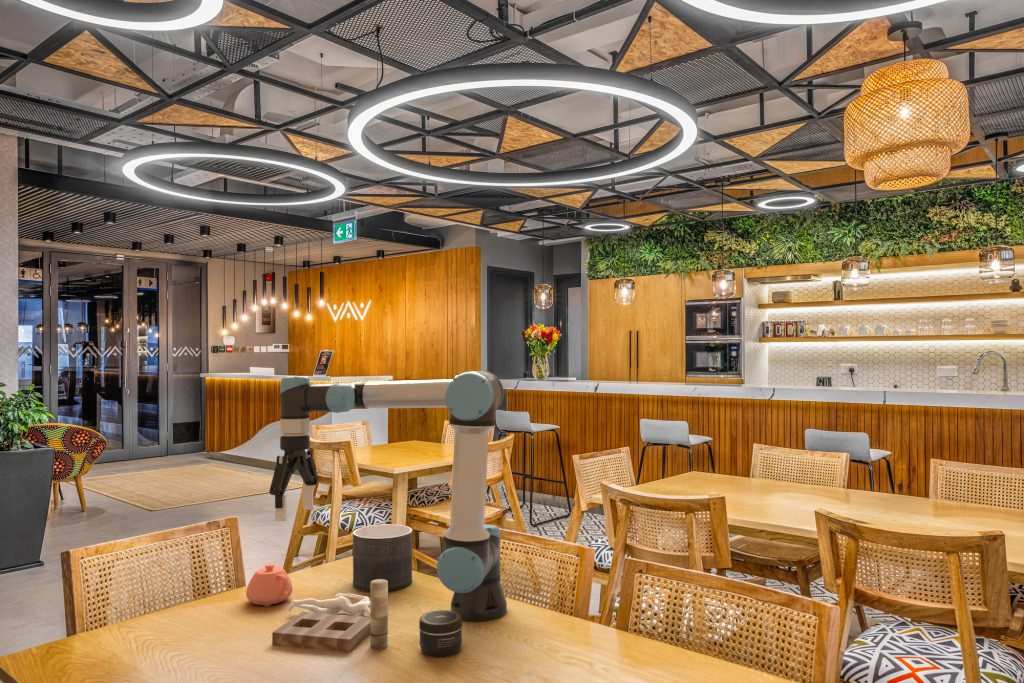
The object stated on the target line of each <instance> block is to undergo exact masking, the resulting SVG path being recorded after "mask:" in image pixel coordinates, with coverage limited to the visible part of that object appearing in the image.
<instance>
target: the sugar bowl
mask: <svg viewBox="0 0 1024 683" xmlns="http://www.w3.org/2000/svg"><path fill="white" fill-rule="evenodd" d="M264 566H265V567H261V568H259V569H257V570H255V572H254V574H253V575H252V577H251V578H250V581H249V582H248V585H247V588H246V592H245V593H246V594H245V596H246V598H247V600H248V601H249V602H250V603H252V604H253V605H254V604H255V605H260V606H263V607H271V606H272V605H274V604H279V603H282V602H285V601H286V600H288V598H289V597H290V596H291V595H292V593H293V584H292V580H291V579H290V577H289V575H288V573H287V572H286V570H285V569H284V568H283V567H281V566H275V564H273V563H267V564H266V565H264Z"/></svg>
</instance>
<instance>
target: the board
mask: <svg viewBox="0 0 1024 683" xmlns="http://www.w3.org/2000/svg"><path fill="white" fill-rule="evenodd" d="M369 636H370V616H369V617H368V616H361V617H360V616H355V615H349V614H348V615H347V614H337V613H334V614H325V613H314V612H312V611H301V612H300V613H298V614H297V615H296V616H294V617H292V618H291V619H290V620H288V621H286V623H284V624H282V625H281V626H280V627H278V628H277V629H275V630H273V631H272V632H271V638H272V640H271V646H278V647H289V648H298V649H307V650H308V649H309V650H317V651H318V650H319V651H330V652H340V653H341V652H342V653H351V652H352V651H353V650H355V649H356V648H357V647H358V646H359V645H360V644H362V642H363V641H365V640H366V639H367V638H368V637H369Z"/></svg>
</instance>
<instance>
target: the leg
mask: <svg viewBox="0 0 1024 683" xmlns="http://www.w3.org/2000/svg"><path fill="white" fill-rule="evenodd" d="M388 592H389V591H388V581H387V580H384V579H377V580H373V581H371V592H370V600H369V601H370V607H369V609H370V615H369V617H370V635H369V636H370V637H369V638H370V641H369V643H370V644H369V645H370V646H369V647H370V649H373V650H383V649H386V648H387V647H388V641H389V638H388V637H389V636H388V633H389V630H388V628H389V627H388V626H389V625H388V619H389V617H388V612H389V610H388V607H389V606H388V605H389V604H388V603H389V602H388V600H389V599H388V597H389V594H388Z"/></svg>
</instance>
